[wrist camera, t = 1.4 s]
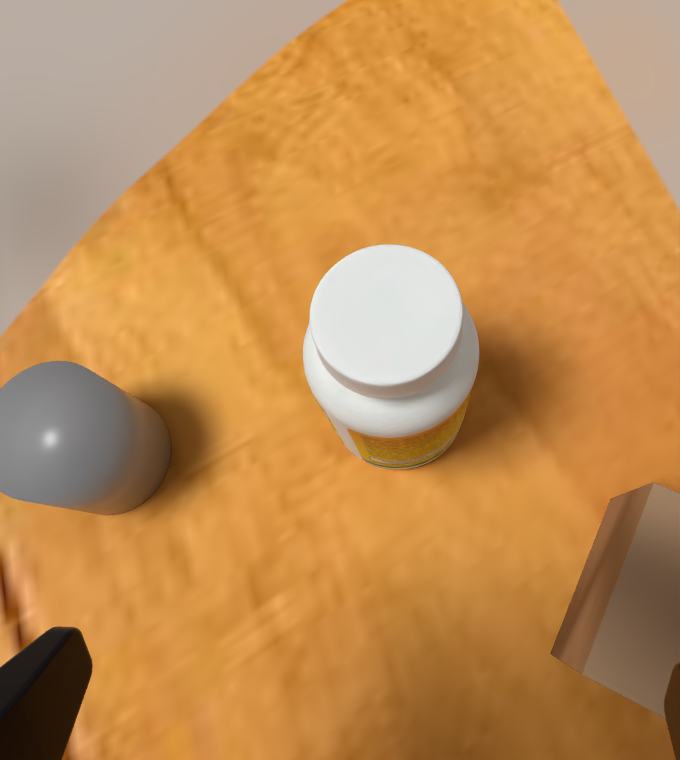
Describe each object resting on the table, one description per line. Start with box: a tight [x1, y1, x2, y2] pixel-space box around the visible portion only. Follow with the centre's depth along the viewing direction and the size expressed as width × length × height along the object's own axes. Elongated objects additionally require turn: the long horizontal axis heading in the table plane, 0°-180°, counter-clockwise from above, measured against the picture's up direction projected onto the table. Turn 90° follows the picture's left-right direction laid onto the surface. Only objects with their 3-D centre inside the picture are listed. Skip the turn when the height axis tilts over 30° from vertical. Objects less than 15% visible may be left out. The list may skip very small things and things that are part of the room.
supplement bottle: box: [303, 245, 479, 469], centre depth 20 cm, size 5×5×10 cm
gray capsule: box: [0, 361, 171, 515], centre depth 23 cm, size 5×5×5 cm
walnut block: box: [551, 482, 680, 719], centre depth 19 cm, size 6×4×4 cm, turn 153°
